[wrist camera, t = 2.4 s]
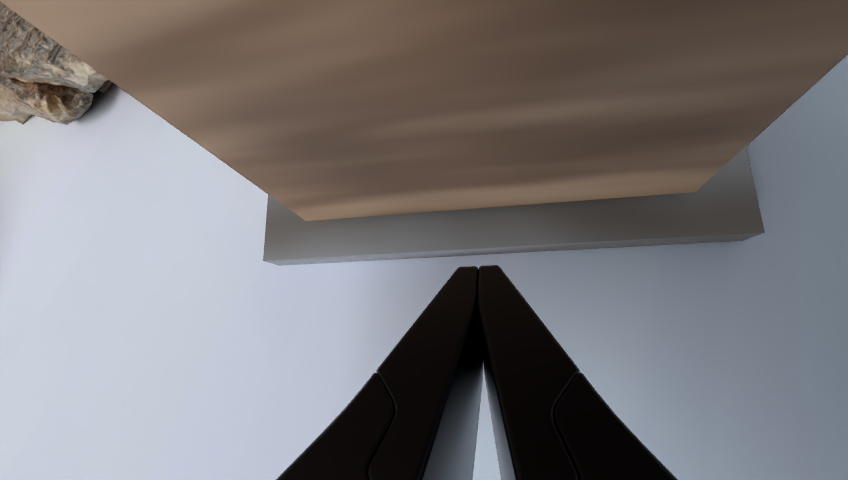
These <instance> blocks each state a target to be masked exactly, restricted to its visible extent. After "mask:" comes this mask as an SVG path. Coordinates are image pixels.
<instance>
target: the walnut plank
mask: <svg viewBox="0 0 848 480" xmlns="http://www.w3.org/2000/svg"><path fill="white" fill-rule="evenodd" d="M0 2H1V3H3V4H4V5H6V6H7V7H8V8H10V9H11V10H13V11H14V12H15V13H17V14H18V15H20V16H21V17H22V18H24V19H25V20H26V21H28V22H29V23H31V24H32V25H33V26H35V27H36V28H38V29H39V30H40V31H42V32H43V33H45V34H46V35H47V36H49V37H50V38H52V39H53V40H54V41H56V42H57V43H59V44H60V45H61V46H63V47H64V48H65V49H67V50H68V51H70V52H71V53H72V54H74V55H75V56H77V57H78V58H79V59H81V60H82V61H84V62H85V63H86V64H88V65H89V66H91V67H92V68H93V69H95V70H96V71H97V72H99V73H100V74H102V75H103V76H104V77H106V78H107V79H109V80H110V81H111V82H113V83H114V84H116V85H117V86H118V87H120V88H121V89H123V90H124V91H125V92H127V93H128V94H129V95H131V96H132V97H134V98H135V99H136V100H138V101H139V102H141V103H142V104H143V105H145V106H146V107H148V108H149V109H150V110H152V111H153V112H155V113H156V114H157V115H159V116H160V117H161V118H163V119H164V120H166V121H167V122H168V123H170V124H171V125H173V126H174V127H175V128H177V129H178V130H180V131H181V132H182V133H184V134H185V135H187V136H188V137H189V138H191V139H192V140H193V141H195V142H196V143H198V144H199V145H200V146H202V147H203V148H205V149H206V150H207V151H209V152H210V153H212V154H213V155H214V156H216V157H217V158H219V159H220V160H221V161H223V162H224V163H226V164H227V165H228V166H230V167H231V168H232V169H234V170H235V171H237V172H238V173H239V174H241V175H242V176H244V177H245V178H246V179H248V180H249V181H251V182H252V183H253V184H255V185H256V186H258V187H259V188H260V189H262V190H263V191H264V192H266V193H267V194H269V195H270V196H271V197H273V198H274V199H276V200H277V201H278V202H280V203H281V204H283V205H284V206H285V207H287V208H288V209H290V210H291V211H292V212H294V213H295V214H296V215H298V216H299V217H301V218H302V219H303V220H305V221H314V220H328V219H341V218H354V217H368V216H381V215H395V214H408V213H422V212H435V211H448V210H462V209H475V208H489V207H502V206H516V205H529V204H542V203H556V202H569V201H583V200H596V199H610V198H623V197H636V196H650V195H663V194H677V193H690V192H696V191H697V190H698V189H699V188H700V187H701V186H703V185H704V184H705V183H706V182H707V181H708V180H709V179H710V178H711V177H713V176H714V175H715V174H716V173H717V172H718V171H719V170H720V169H721V168H723V167H724V166H725V165H726V164H727V163H728V162H729V161H730V160H731V159H733V158H734V157H735V156H736V155H737V154H738V153H739V152H740V151H741V150H742V149H744V148H745V147H746V146H747V145H748V144H749V143H750V142H751V141H752V140H754V139H755V138H756V137H757V136H758V135H759V134H760V133H761V132H762V131H764V130H765V129H766V128H767V127H768V126H769V125H770V124H771V123H772V122H774V121H775V120H776V119H777V118H778V117H779V116H780V115H781V114H782V113H783V112H785V111H786V110H787V109H788V108H789V107H790V106H791V105H792V104H793V103H795V102H796V101H797V100H798V99H799V98H800V97H801V96H802V95H803V94H805V93H806V92H807V91H808V90H809V89H810V88H811V87H812V86H813V85H815V84H816V83H817V82H818V81H819V80H820V79H821V78H822V77H823V76H824V75H826V74H827V73H828V72H829V71H830V70H831V69H832V68H833V67H834V66H836V65H837V64H838V63H839V62H840V61H841V60H842V59H843V58H844V57H846V56H847V55H848V0H0Z"/></svg>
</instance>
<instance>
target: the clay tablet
mask: <svg viewBox="0 0 848 480" xmlns="http://www.w3.org/2000/svg"><path fill="white" fill-rule="evenodd" d="M111 84H112V82H111V81H110V80H109V79H107V78H106V77H104V76H103V75H102V74H100V73H99V72H97V71H96V70H95V69H93V68H92V67H91V66H89V65H88V64H86V63H85V62H84V61H82V60H81V59H79V58H78V57H77V56H75V55H74V54H72V53H71V52H70V51H68V50H67V49H65V48H64V47H63V46H61V45H60V44H59V43H57V42H56V41H54V40H53V39H52V38H50V37H49V36H47V35H46V34H45V33H43V32H42V31H40V30H39V29H38V28H36V27H35V26H33V25H32V24H31V23H29V22H28V21H26V20H25V19H24V18H22V17H21V16H20V15H18V14H17V13H15V12H14V11H13V10H11V9H10V8H8V7H7V6H6V5H4V4H3V3H1V2H0V120H1V121H13V120H16V121H18V122H20V123H21V124H24V123H25V122H26V121H27V120H28V119H29V118H30V117H31V116H32V115H35V116H38V117H42V118H45V119H47V120H50V121H52V122H59V123H63V124H66V125H67V124H69V123H71V122H72V121H74V120H76V119H78V118H79V117H81V116H82V115H83V114H84V113H85V112H86V111H87V110H88V109H89V108H90V105H91V104H92V99H93V94H92V93H94V92H96V91H97V90H99V91H101V92H106V90H107V89H108V88H109V86H110V85H111ZM90 92H92V93H90Z"/></svg>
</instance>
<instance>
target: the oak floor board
mask: <svg viewBox="0 0 848 480" xmlns="http://www.w3.org/2000/svg"><path fill="white" fill-rule="evenodd" d="M761 233H764V228H763V223H762V219H761V214H760V210H759V205H758V201H757V196H756V191H755V187H754V182H753V178H752V173H751V169H750V164H749V160H748V155H747V151H746V147H745V148H744V149H742V150H741V151H740V152H739V153H738V154H737V155H736V156H735V157H734V158H733V159H731V160H730V161H729V162H728V163H727V164H726V165H725V166H724V167H723V168H721V169H720V170H719V171H718V172H717V173H716V174H715V175H714V176H713V177H711V178H710V179H709V180H708V181H707V182H706V183H705V184H704V185H703V186H701V187H700V188H699V189H698V190H697V191H696V192H690V193H677V194H663V195H650V196H636V197H623V198H610V199H596V200H583V201H569V202H556V203H542V204H529V205H516V206H502V207H489V208H475V209H462V210H448V211H435V212H422V213H408V214H395V215H381V216H368V217H354V218H341V219H328V220H314V221H305V220H303V219H302V218H301V217H299V216H298V215H296V214H295V213H294V212H292V211H291V210H290V209H288V208H287V207H285V206H284V205H283V204H281V203H280V202H278V201H277V200H276V199H274V198H273V197H271V196H270V195H269V194H268V205H267V218H266V231H265V245H264V258H263V261H266V262H270V263H273V264H276V265H295V264H313V263H332V262H351V261H369V260H388V259H406V258H425V257H444V256H462V255H481V254H500V253H518V252H537V251H555V250H574V249H593V248H611V247H630V246H649V245H667V244H686V243H704V242H723V241H742V240H746V239H748V238H751V237H754V236H756V235H759V234H761Z"/></svg>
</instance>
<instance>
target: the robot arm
mask: <svg viewBox="0 0 848 480" xmlns="http://www.w3.org/2000/svg"><path fill="white" fill-rule="evenodd" d="M483 363H484V372H485V380H486V387H487V393H488V399H489V406H490V412H491V418H492V424H493V430H494V437H495V443H496V449H497V455H498V462H499V468H500V474H501V480H678V479H677V478H676V477H675V476H674V475H673V474H672V473H671V472H670V471H669V470H668V469H667V468H666V467H665V466H664V465H663V464H662V463H661V462H660V461H659V460H658V459H657V458H656V457H655V456H654V455H653V454H652V453H651V452H650V451H649V450H648V449H647V448H646V447H645V446H644V445H643V443H642V442H641V441H640V440H639V439H638V438H637V437H636V436H635V435H634V434H633V433H632V432H631V431H630V430H629V428H628V427H627V426H626V425H625V424H624V423H623V422H622V421H621V420H620V419H619V418H618V417H617V416H616V414H615V413H614V412H613V411H612V410H611V408H610V407H609V406H608V405H607V404H606V402H605V401H604V400H603V399H602V398H601V396H600V395H599V394H598V393H597V392H596V390H595V389H594V388H593V386H592V385H591V384H590V383H589V381H588V380H587V379H586V377H585V376H584V375H583V374H582V373H580V370H579V369H578V367H577V366H576V365H575V364H574V362H573V361H572V360H571V358H570V357H569V356H568V354H567V353H566V352H565V351H564V349H563V348H562V347H561V345H560V344H559V343H558V342H557V340H556V339H555V338H554V336H553V335H552V334H551V333H550V331H549V330H548V329H547V327H546V326H545V325H544V324H543V322H542V321H541V320H540V318H539V317H538V316H537V315H536V313H535V312H534V311H533V309H532V308H531V307H530V305H529V304H528V303H527V302H526V300H525V299H524V298H523V296H522V295H521V294H520V293H519V291H518V290H517V289H516V287H515V286H514V285H513V284H512V282H511V281H510V280H509V278H508V277H507V276H506V275H505V273H504V272H503V271H502V269H501V268H500V267H499V266H497V265H492V266H481V267H479V270H478V268H477V267H476V266H471V267H459V268H458V269H457V270H456V271H455V272H454V274H453V275H452V276H451V277H450V279H449V280H448V281H447V282H446V284H445V285H444V286H443V287H442V289H441V290H440V291H439V292H438V294H437V295H436V296H435V298H434V299H433V300H432V301H431V303H430V304H429V305H428V306H427V308H426V309H425V310H424V311H423V313H422V314H421V315H420V316H419V318H418V319H417V320H416V321H415V323H414V324H413V325H412V326H411V328H410V329H409V330H408V331H407V333H406V334H405V335H404V336H403V338H402V339H401V340H400V341H399V343H398V344H397V345H396V346H395V348H394V349H393V350H392V352H391V353H390V354H389V355H388V357H387V358H386V359H385V360H384V362H383V363H382V364H381V365H380V367H379V368H378V369H377V373H374V374H373V375H372V376H371V378H370V379H369V380H368V381H367V383H366V384H365V385H364V386H363V388H362V389H361V390H360V391H359V392H358V394H357V395H356V396H355V397H354V398H353V399H352V401H351V402H350V403H349V404H348V405H347V407H346V408H345V409H344V410H343V411H342V412H341V413H340V414H339V415H338V416H337V418H336V419H335V420H334V421H333V422H332V423H331V424H330V425H329V426H328V427H327V428H326V429H325V430H324V431H323V432H322V434H321V435H320V436H319V437H318V438H317V439H316V440H315V441H314V442H313V443H312V444H311V445H310V446H309V447H308V448H307V449H306V450H305V451H304V452H303V453H302V454H301V455H300V456H299V457H298V458H297V459H296V460H295V461H294V462H293V463H292V464H291V465H290V466H289V467H288V468H287V469H286V470H285V471H284V472H283V473H282V474H281V475H280V476H279V477H278V478H277V479H276V480H472V478H473V469H474V459H475V449H476V439H477V430H478V420H479V410H480V400H481V391H482V381H483Z"/></svg>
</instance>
